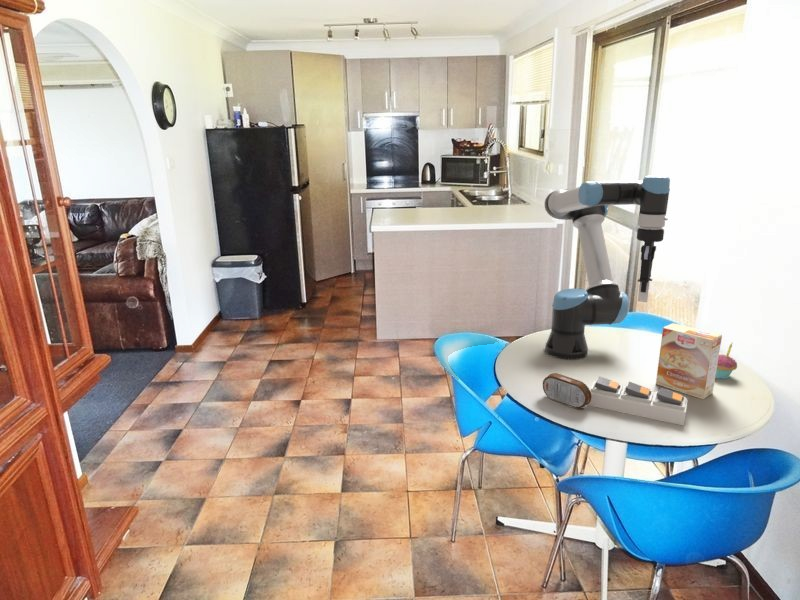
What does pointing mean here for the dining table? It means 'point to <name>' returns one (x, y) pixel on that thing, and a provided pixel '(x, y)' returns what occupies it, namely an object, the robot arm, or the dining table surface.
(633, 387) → the rocker middle
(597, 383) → the rocker left
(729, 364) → the cupcake
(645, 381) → the dining table surface
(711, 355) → the coffeecake box
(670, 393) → the rocker right
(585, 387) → the tin
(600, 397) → the rocker switch box
